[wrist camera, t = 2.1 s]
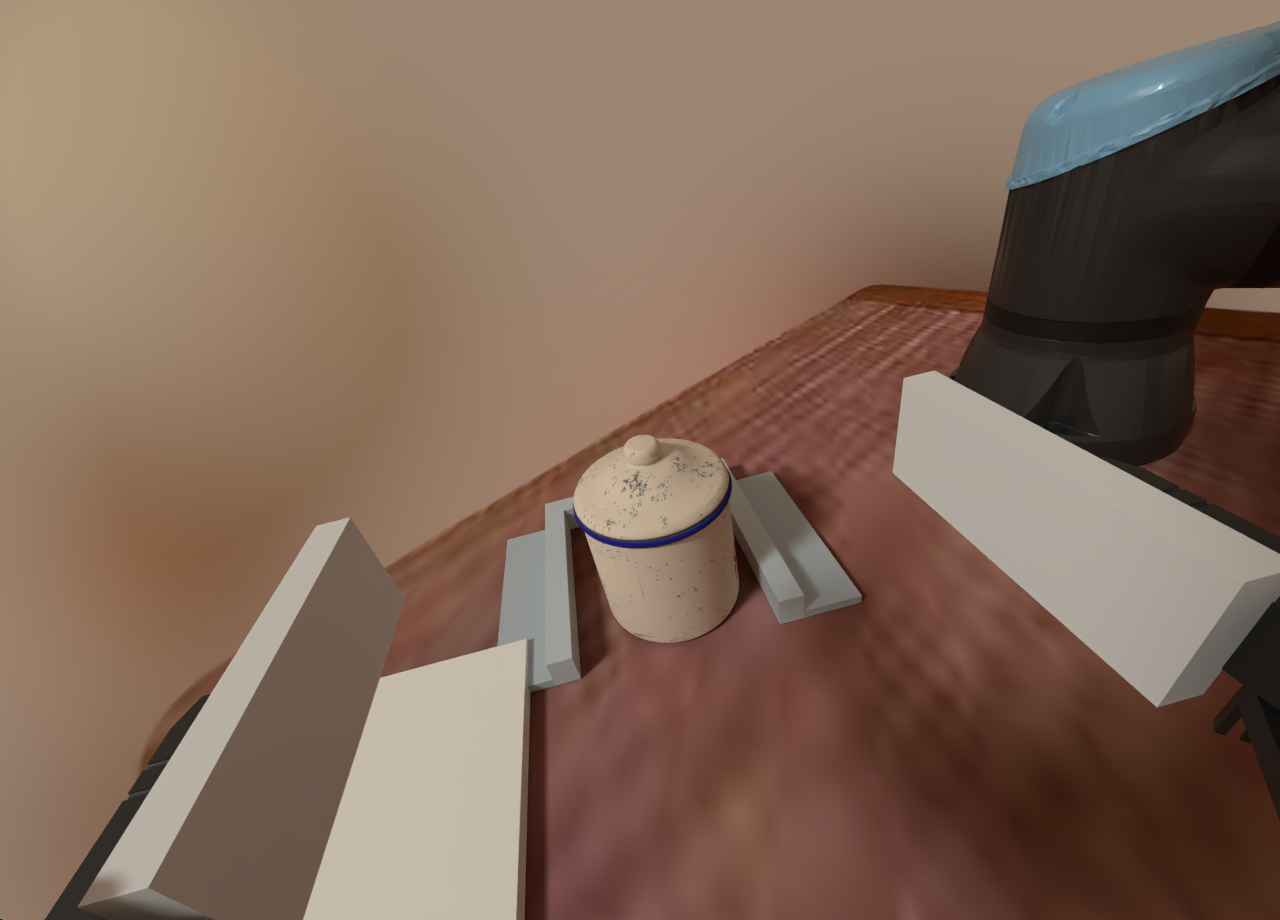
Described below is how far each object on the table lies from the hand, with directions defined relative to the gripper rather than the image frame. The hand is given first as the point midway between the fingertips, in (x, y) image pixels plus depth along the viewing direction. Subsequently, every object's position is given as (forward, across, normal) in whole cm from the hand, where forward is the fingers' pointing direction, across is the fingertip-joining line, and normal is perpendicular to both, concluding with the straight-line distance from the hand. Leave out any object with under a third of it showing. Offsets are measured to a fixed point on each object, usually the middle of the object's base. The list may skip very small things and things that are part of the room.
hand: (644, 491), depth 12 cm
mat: (+4, -16, -18) cm, 24 cm away
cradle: (+16, 0, -18) cm, 24 cm away
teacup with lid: (+14, 0, -18) cm, 23 cm away
